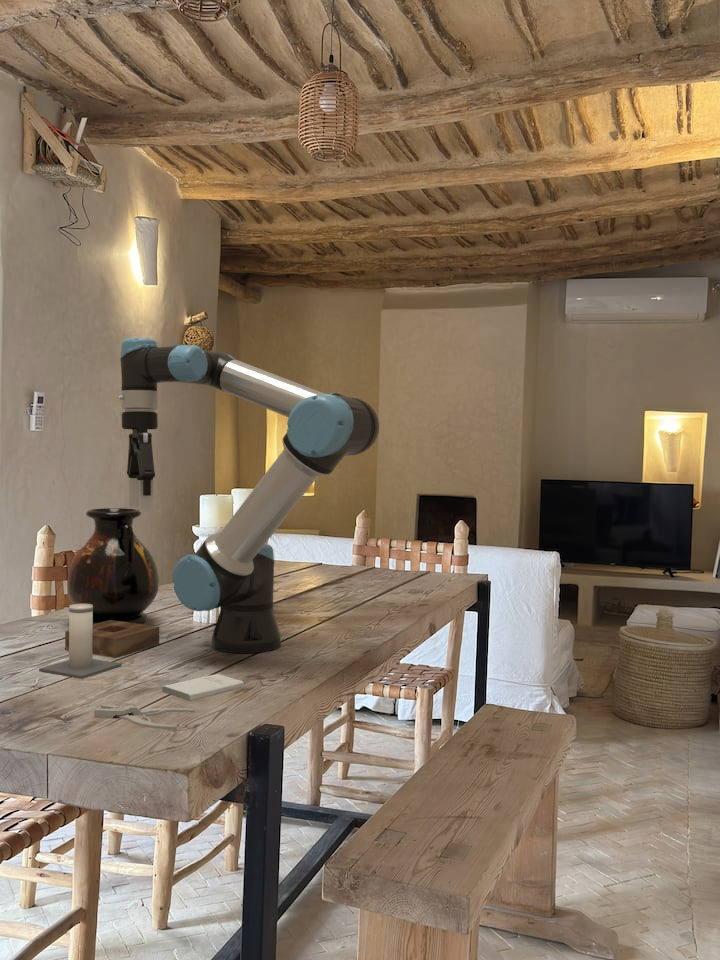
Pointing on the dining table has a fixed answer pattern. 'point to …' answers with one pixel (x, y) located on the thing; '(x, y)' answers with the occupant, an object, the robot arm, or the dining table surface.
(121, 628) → the socket block
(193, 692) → the external hard drive
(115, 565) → the amphora vase
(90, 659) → the plug
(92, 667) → the mat
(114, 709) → the pliers
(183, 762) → the dining table surface
